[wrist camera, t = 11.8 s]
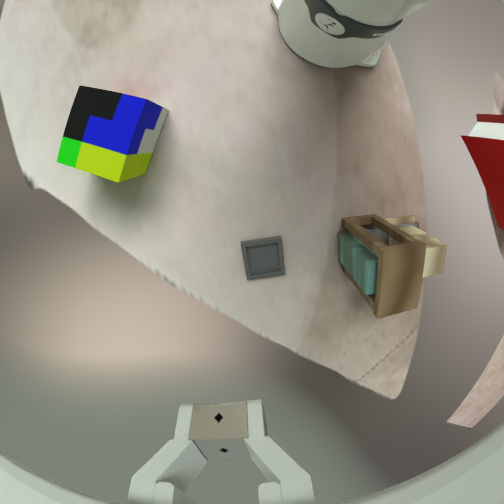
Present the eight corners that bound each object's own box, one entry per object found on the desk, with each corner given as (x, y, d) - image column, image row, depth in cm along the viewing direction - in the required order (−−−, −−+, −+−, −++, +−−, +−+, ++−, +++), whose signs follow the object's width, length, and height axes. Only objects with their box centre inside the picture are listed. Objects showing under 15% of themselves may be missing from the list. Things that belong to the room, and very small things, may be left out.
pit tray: (246, 276, 44) (247, 279, 43) (241, 241, 41) (241, 243, 40) (284, 271, 44) (284, 273, 43) (280, 235, 41) (281, 238, 40)
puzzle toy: (169, 110, 34) (146, 99, 24) (146, 173, 37) (118, 182, 28) (112, 96, 32) (79, 85, 23) (92, 156, 35) (56, 161, 26)
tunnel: (341, 270, 44) (376, 318, 31) (340, 217, 41) (383, 251, 27) (374, 264, 44) (416, 307, 31) (376, 213, 41) (426, 243, 27)
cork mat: (381, 258, 44) (381, 258, 43) (382, 219, 41) (383, 219, 41) (412, 252, 44) (413, 252, 43) (414, 215, 41) (415, 215, 41)
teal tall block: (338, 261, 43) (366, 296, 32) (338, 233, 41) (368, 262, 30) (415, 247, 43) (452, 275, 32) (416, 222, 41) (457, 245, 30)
